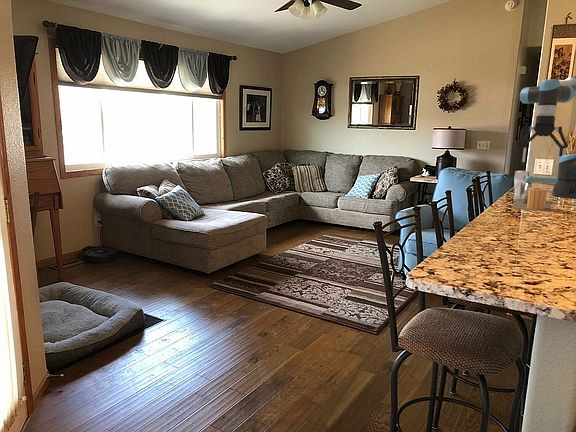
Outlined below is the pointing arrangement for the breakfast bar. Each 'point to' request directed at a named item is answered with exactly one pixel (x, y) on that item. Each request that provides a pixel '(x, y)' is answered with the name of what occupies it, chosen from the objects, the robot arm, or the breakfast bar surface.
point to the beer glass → (520, 184)
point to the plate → (520, 205)
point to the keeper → (541, 179)
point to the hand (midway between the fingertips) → (539, 162)
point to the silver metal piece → (528, 185)
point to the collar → (537, 198)
